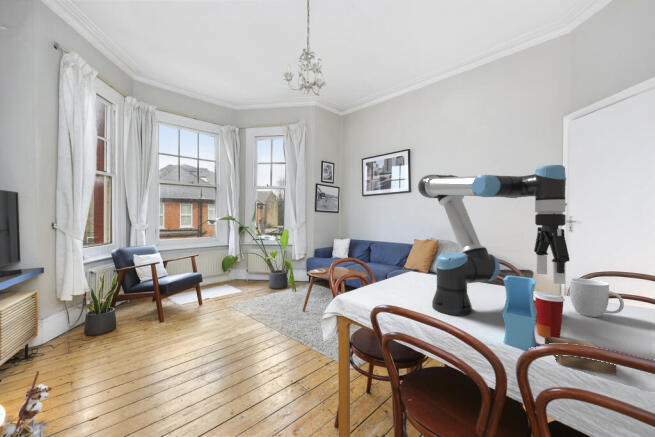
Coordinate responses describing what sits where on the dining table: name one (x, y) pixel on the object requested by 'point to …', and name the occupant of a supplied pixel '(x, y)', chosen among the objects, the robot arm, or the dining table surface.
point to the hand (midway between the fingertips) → (549, 278)
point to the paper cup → (549, 313)
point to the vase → (519, 312)
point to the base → (580, 361)
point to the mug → (591, 297)
